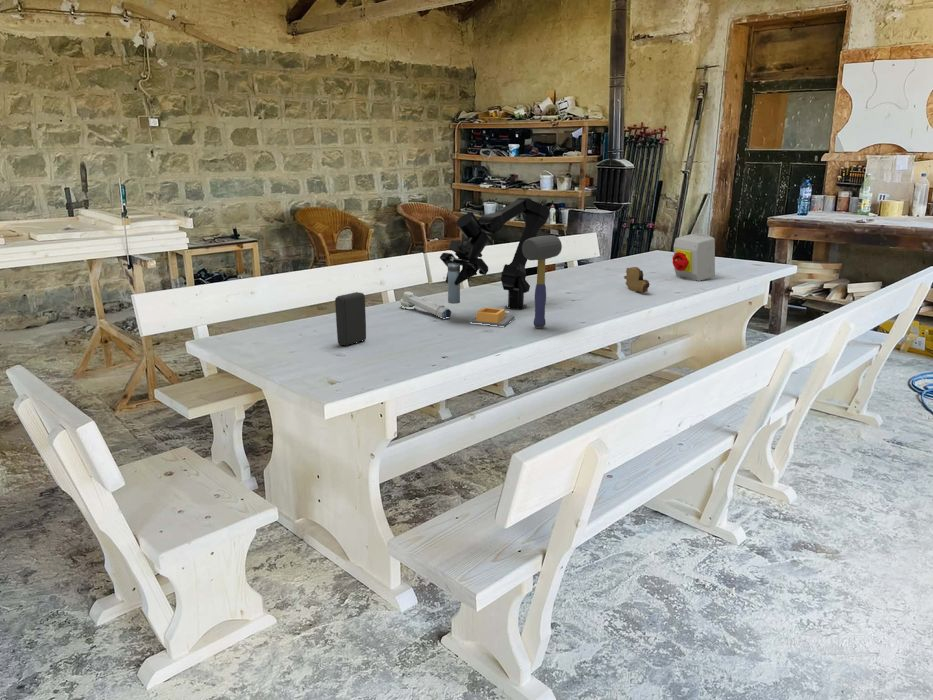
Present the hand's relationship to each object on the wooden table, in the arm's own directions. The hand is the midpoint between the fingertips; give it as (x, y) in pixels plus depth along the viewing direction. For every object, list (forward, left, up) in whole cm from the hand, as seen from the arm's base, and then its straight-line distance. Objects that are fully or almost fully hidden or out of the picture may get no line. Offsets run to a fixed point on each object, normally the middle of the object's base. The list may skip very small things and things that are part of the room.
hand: (450, 283), depth 230 cm
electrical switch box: (-111, +69, -14) cm, 131 cm away
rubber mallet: (-4, +30, -14) cm, 33 cm away
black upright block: (+34, -18, -14) cm, 41 cm away
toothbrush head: (-9, -14, -14) cm, 22 cm away
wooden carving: (-74, +51, -14) cm, 91 cm away
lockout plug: (-1, +1, -7) cm, 7 cm away
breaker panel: (-6, +13, -13) cm, 19 cm away
